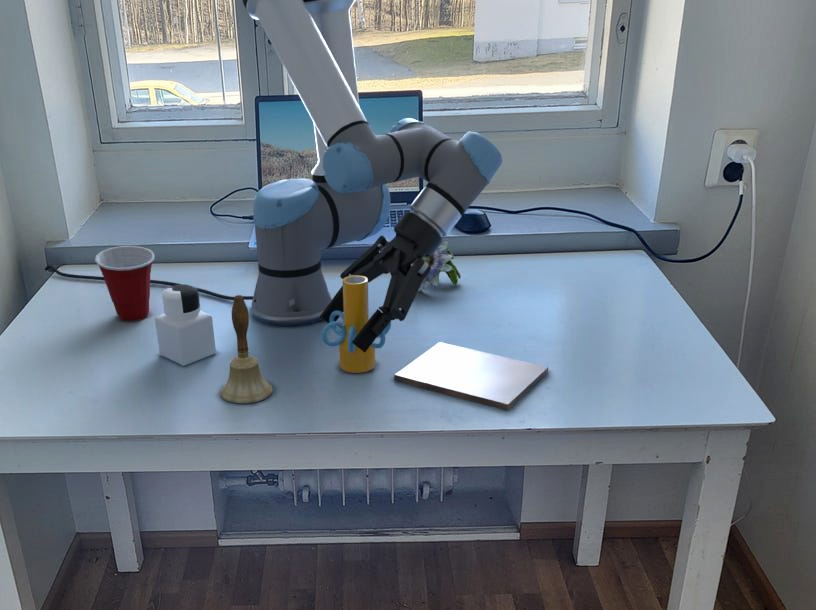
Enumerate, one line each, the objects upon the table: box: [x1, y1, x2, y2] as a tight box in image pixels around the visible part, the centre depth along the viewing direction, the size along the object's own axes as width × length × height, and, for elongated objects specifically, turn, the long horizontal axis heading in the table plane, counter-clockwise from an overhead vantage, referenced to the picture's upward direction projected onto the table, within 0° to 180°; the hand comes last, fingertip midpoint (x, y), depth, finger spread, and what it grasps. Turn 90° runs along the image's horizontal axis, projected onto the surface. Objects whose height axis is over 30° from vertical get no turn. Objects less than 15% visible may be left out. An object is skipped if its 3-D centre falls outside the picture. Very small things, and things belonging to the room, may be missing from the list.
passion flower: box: [417, 241, 462, 293], centre depth 182 cm, size 11×11×12 cm
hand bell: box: [220, 294, 274, 404], centre depth 142 cm, size 8×8×16 cm
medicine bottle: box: [154, 284, 217, 367], centre depth 156 cm, size 7×7×12 cm
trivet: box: [393, 341, 549, 411], centre depth 148 cm, size 20×15×1 cm
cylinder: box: [321, 275, 392, 374], centre depth 148 cm, size 12×10×15 cm
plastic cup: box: [94, 245, 155, 322], centre depth 171 cm, size 11×11×12 cm
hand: (341, 334), depth 148 cm, fingers closed on cylinder, 11 cm apart
